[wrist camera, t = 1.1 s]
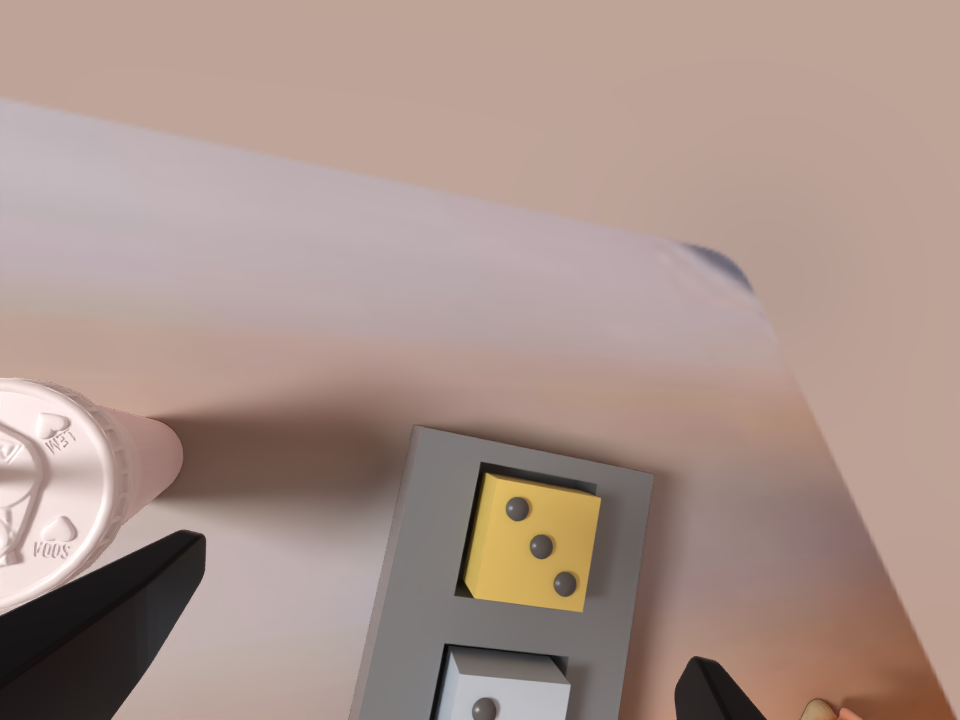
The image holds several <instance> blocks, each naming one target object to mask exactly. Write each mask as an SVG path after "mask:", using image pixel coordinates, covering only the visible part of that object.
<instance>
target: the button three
mask: <svg viewBox="0 0 960 720" xmlns="http://www.w3.org/2000/svg"><path fill="white" fill-rule="evenodd" d="M600 502H601V498H600V497H597V496H594V495H592V494H589V493H586V492H584V491H581V490H578V489H574V488H568V487H563V486H558V485H552V484H547V483H542V482H536V481H531V480H526V479H521V478H515V477H510V476H505V475H499V474H494V473H489V472H483V477H482V482H481V487H480V492H479V497H478V502H477V507H476V512H475V518H474V523H473V528H472V533H471V538H470V543H469V548H468V553H467V558H466V563H465V568H464V573H463V580H464V582H465V583H466V585H467V587H468V588H469V590H470V592H471V593H472V595H473V597H474V598H476V599H483V600H491V601H499V602H506V603H514V604H522V605H529V606H537V607H545V608H552V609H560V610H567V611H575V612H583V607H584V600H585V594H586V588H587V582H588V576H589V570H590V564H591V558H592V551H593V545H594V539H595V533H596V527H597V521H598V515H599V508H600Z"/></svg>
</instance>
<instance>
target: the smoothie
mask: <svg viewBox="0 0 960 720" xmlns="http://www.w3.org/2000/svg"><path fill="white" fill-rule="evenodd" d="M182 463H183V447H182V444H181V441H180V439H179V438H178V436H177V435H176V433H175V432H174V431H173V430H172V429H171V428H170V427H168V426H167V425H165V424H164V423H162V422H159V421H157V420H153V419H150V418H146V417H142V416H138V415H134V414H130V413H126V412H123V411H119V410H115V409H111V408H107V407H103V406H99V405H96V404H95V403H93V402H92V401H90V400H89V399H88V398H86V397H85V396H83V395H82V394H81V393H78V392H76V391H73V390H70V389H68V388H65V387H63V386H60V385H58V384H55V383H52V382H47V381H40V380H33V379H25V378H7V379H5V378H0V610H4V609H8V608H11V607H14V606H17V605H20V604H23V603H25V602H27V601H30V600H32V599H34V598H36V597H38V596H40V595H42V594H45V593H47V592H49V591H52V590H54V589H57V588H59V587H61V586H63V585H65V584H66V583H67V582H69V581H70V580H72V579H73V578H75V577H76V576H77V575H79V574H80V573H82V572H83V571H85V570H86V569H88V568H89V567H90V566H91V565H92V564H93V563H94V562H95V561H96V560H97V559H98V558H99V556H100V555H101V554H102V553H103V552H104V551H105V550H106V549H107V548H108V547H109V545H110V544H111V543H112V542H113V540H114V538H115V537H116V535H117V533H118V531H119V529H120V527H121V526H122V525H123V524H124V523H126V522H127V521H128V520H129V519H130V518H132V517H133V516H134V515H135V514H136V513H138V512H139V511H140V510H141V509H142V508H144V507H145V506H146V505H147V504H148V503H149V502H151V501H152V500H153V499H154V498H155V497H157V496H158V495H159V494H160V493H161V492H163V491H164V490H165V489H166V488H167V487H168V486H170V485H171V484H172V483H173V481H174V480H175V479H176V477H177V476H178V474H179V472H180V470H181V467H182Z"/></svg>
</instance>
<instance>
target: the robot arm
mask: <svg viewBox="0 0 960 720" xmlns="http://www.w3.org/2000/svg"><path fill="white" fill-rule="evenodd" d="M205 562H206V538H205V536H204V535H203V534H201V533H197V532H193V531H189V530H179V531H177V532H174V533H172V534H170V535H168V536H166V537H164V538H162V539H160V540H158V541H156V542H154V543H151V544H149V545H147V546H145V547H143V548H141V549H139V550H137V551H135V552H133V553H130V554H128V555H126V556H124V557H122V558H120V559H118V560H116V561H114V562H112V563H110V564H107V565H105V566H103V567H101V568H99V569H97V570H95V571H93V572H91V573H89V574H87V575H84V576H82V577H80V578H78V579H76V580H74V581H72V582H70V583H68V584H66V585H63V586H61V587H59V588H57V589H55V590H53V591H51V592H49V593H47V594H45V595H43V596H40V597H38V598H36V599H34V600H32V601H30V602H28V603H26V604H24V605H22V606H20V607H17V608H15V609H13V610H11V611H9V612H7V613H5V614H3V615H1V616H0V720H111V719H112V717H113V716H114V714H115V713H116V712H117V710H118V709H119V708H120V706H121V705H122V704H123V702H124V701H125V700H126V698H127V697H128V695H129V694H130V693H131V691H132V690H133V689H134V687H135V686H136V685H137V683H138V682H139V680H140V679H141V678H142V676H143V675H144V673H145V672H146V671H147V669H148V668H149V666H150V665H151V663H152V661H153V660H154V658H155V657H156V655H157V653H158V652H159V650H160V649H161V647H162V645H163V644H164V642H165V640H166V639H167V637H168V635H169V634H170V632H171V630H172V629H173V627H174V625H175V624H176V622H177V620H178V619H179V617H180V615H181V614H182V612H183V610H184V609H185V607H186V605H187V604H188V602H189V601H190V599H191V597H192V596H193V594H194V592H195V591H196V589H197V587H198V586H199V584H200V582H201V580H202V578H203V575H204V572H205ZM675 708H676V716H677V720H767V719H766V718H765V717H764V716H763V715H762V713H761V712H760V711H759V710H758V709H757V707H756V706H755V705H754V704H753V703H752V701H751V700H750V699H749V698H748V697H747V696H746V694H745V693H744V692H743V691H742V690H741V688H740V687H739V686H738V685H737V684H736V682H735V681H734V680H733V679H732V678H731V677H730V675H729V674H728V673H727V672H726V671H725V669H724V668H723V667H722V666H721V665H720V664H719V663H718V662H716V661H714V660H711V659H707V658H703V657H699V656H694V657H692V658H691V659H690V661H689V662H688V664H687V666H686V668H685V670H684V672H683V674H682V675H681V677H680V679H679V681H678V683H677V685H676V688H675Z"/></svg>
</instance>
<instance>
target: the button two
mask: <svg viewBox="0 0 960 720" xmlns="http://www.w3.org/2000/svg"><path fill="white" fill-rule="evenodd" d="M570 686H571V684H570V683H569V682H568V681H567V679H566V678H565V677H564V675H563V674H562V673H561V671H560V670H559V669H558V667H557V666H556V665H555V664H554V662H553V661H552V660H551V658H550V657H549V656H539V655H530V654H521V653H512V652H502V651H493V650H484V649H475V648H465V647H456V646H449V649H448V654H447V659H446V664H445V669H444V674H443V679H442V684H441V689H440V694H439V699H438V704H437V709H436V714H435V719H434V720H565V717H566V711H567V705H568V699H569V692H570Z"/></svg>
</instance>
